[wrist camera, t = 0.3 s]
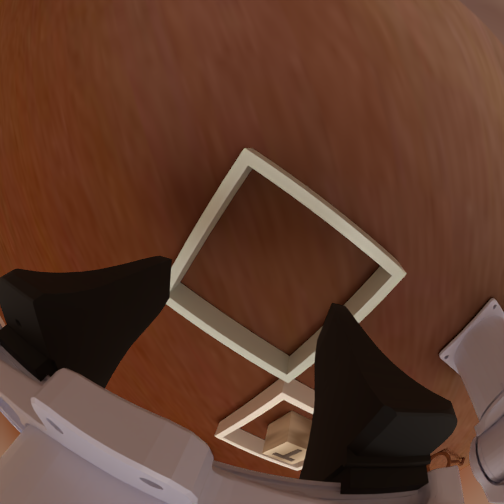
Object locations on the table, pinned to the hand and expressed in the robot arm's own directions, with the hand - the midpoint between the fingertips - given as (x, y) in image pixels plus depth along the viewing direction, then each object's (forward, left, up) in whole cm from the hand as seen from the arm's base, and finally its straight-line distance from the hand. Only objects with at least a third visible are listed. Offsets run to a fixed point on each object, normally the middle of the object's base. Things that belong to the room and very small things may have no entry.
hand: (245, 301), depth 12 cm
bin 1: (-2, +2, -10) cm, 10 cm away
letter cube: (-16, +17, -10) cm, 25 cm away
